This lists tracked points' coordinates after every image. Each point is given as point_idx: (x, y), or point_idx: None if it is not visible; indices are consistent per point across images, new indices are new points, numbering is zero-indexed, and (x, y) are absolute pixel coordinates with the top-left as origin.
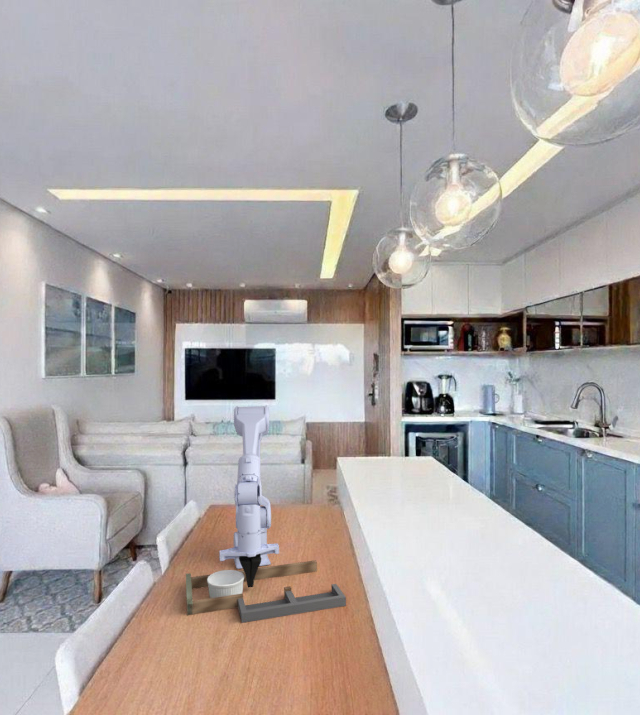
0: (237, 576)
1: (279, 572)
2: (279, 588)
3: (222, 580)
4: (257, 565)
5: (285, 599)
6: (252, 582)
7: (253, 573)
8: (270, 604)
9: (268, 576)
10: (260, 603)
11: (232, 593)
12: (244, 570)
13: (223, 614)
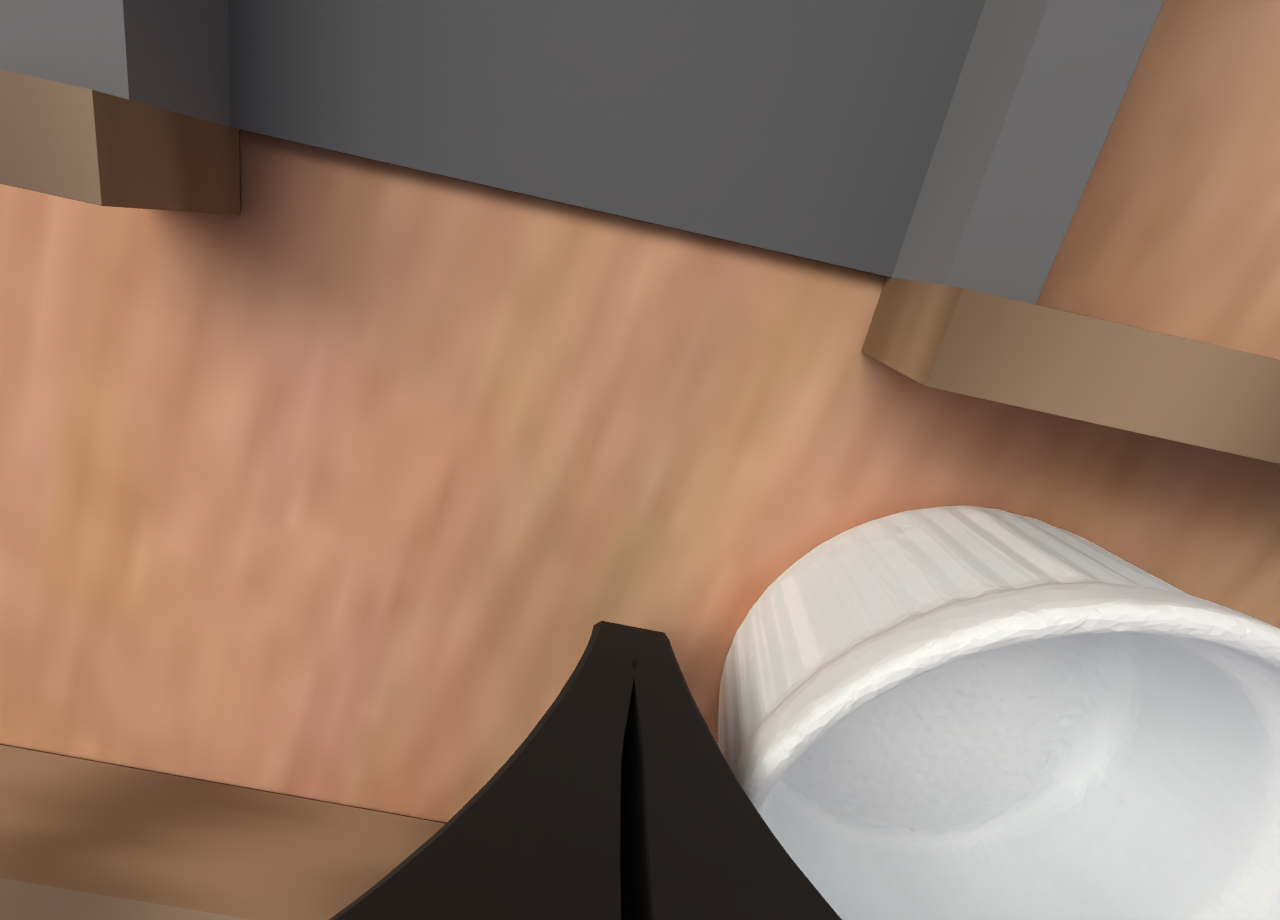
0: None
1: (149, 821)
2: (250, 518)
3: (922, 917)
4: (425, 905)
5: (231, 115)
6: (607, 654)
7: (574, 762)
8: (505, 77)
9: (311, 819)
10: (636, 204)
11: (992, 539)
12: (806, 884)
13: (1236, 197)
